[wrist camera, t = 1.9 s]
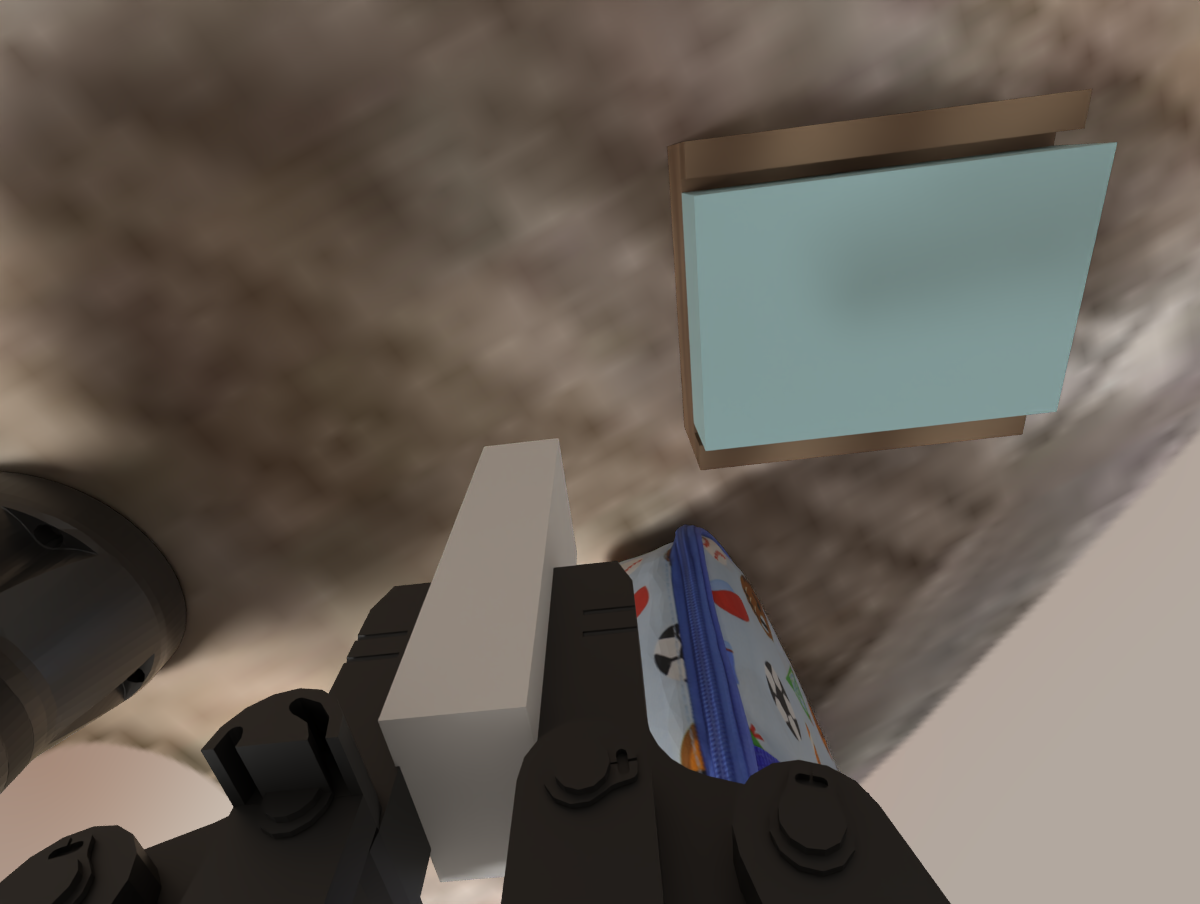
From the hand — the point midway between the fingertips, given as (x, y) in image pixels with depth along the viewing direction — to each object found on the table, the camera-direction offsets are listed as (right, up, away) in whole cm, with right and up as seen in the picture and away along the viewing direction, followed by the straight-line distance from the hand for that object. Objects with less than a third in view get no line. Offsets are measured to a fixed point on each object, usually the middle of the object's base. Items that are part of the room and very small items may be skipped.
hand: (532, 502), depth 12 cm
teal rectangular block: (+12, +7, +12) cm, 19 cm away
